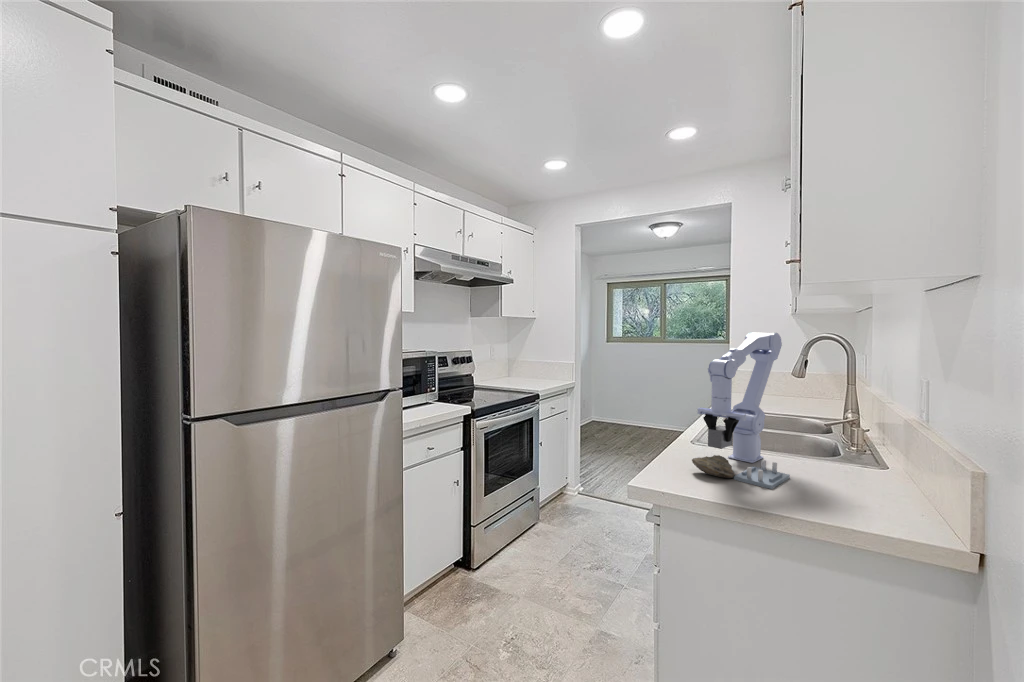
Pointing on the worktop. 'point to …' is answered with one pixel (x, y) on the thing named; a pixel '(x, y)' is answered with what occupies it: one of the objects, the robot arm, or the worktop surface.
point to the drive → (718, 437)
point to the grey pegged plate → (762, 476)
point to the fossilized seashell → (714, 466)
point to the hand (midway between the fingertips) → (720, 439)
